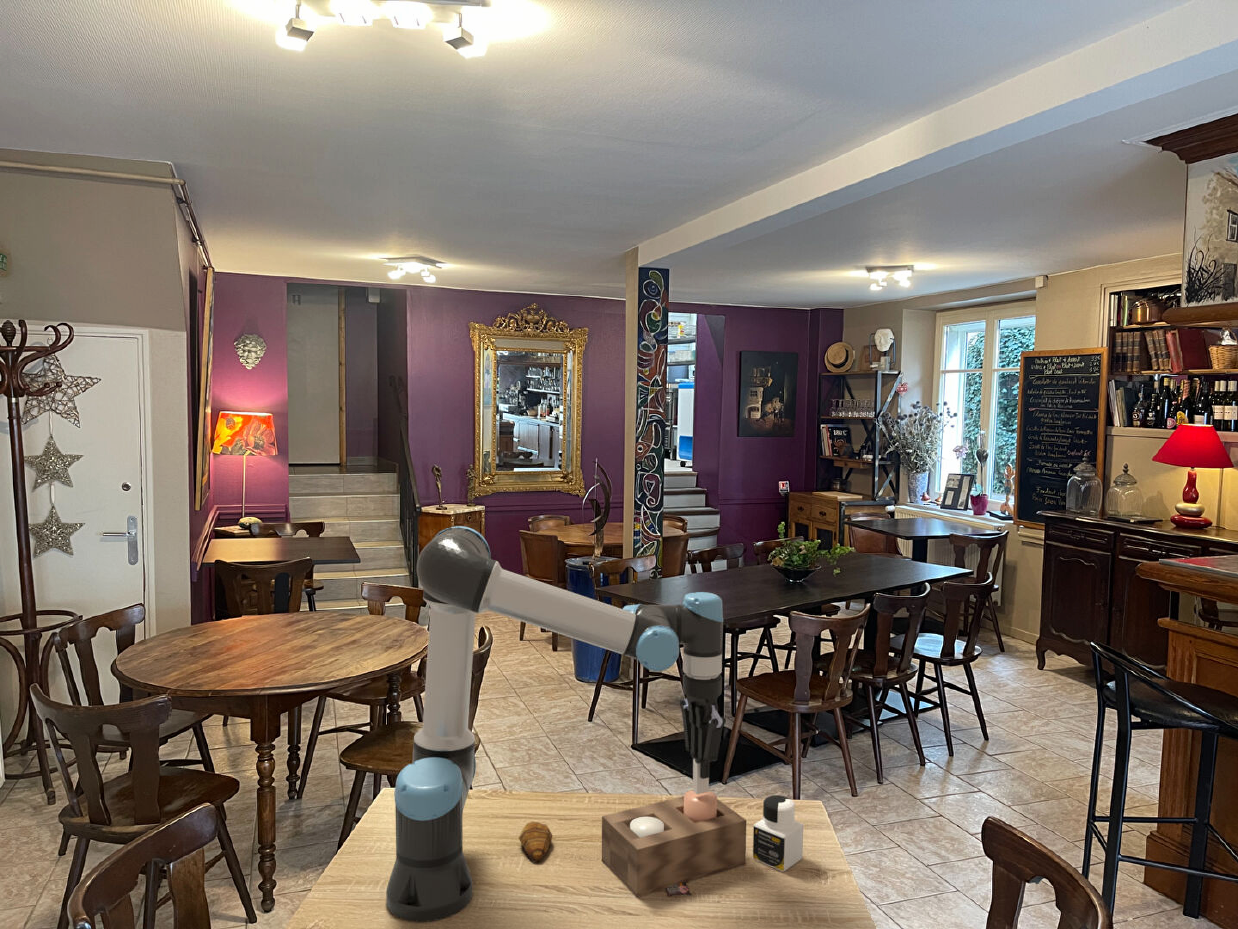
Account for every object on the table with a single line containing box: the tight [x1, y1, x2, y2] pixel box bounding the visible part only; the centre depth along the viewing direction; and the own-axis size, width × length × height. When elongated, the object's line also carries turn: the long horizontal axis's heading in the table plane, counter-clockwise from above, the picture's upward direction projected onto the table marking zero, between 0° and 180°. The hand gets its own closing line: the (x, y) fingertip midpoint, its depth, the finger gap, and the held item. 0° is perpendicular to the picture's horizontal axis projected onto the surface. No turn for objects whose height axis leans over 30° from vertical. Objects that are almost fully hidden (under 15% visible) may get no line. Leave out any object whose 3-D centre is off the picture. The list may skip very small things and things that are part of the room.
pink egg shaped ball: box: [683, 789, 718, 823], centre depth 172 cm, size 6×6×8 cm
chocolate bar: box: [664, 882, 693, 898], centre depth 163 cm, size 11×5×1 cm, turn 10°
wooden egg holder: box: [601, 795, 747, 898], centre depth 169 cm, size 24×14×9 cm, turn 118°
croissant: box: [518, 821, 553, 863], centre depth 175 cm, size 14×7×5 cm, turn 10°
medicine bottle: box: [752, 794, 804, 873], centre depth 171 cm, size 7×7×12 cm
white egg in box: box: [630, 817, 664, 837], centre depth 166 cm, size 6×6×8 cm
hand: (700, 791), depth 171 cm, fingers closed
